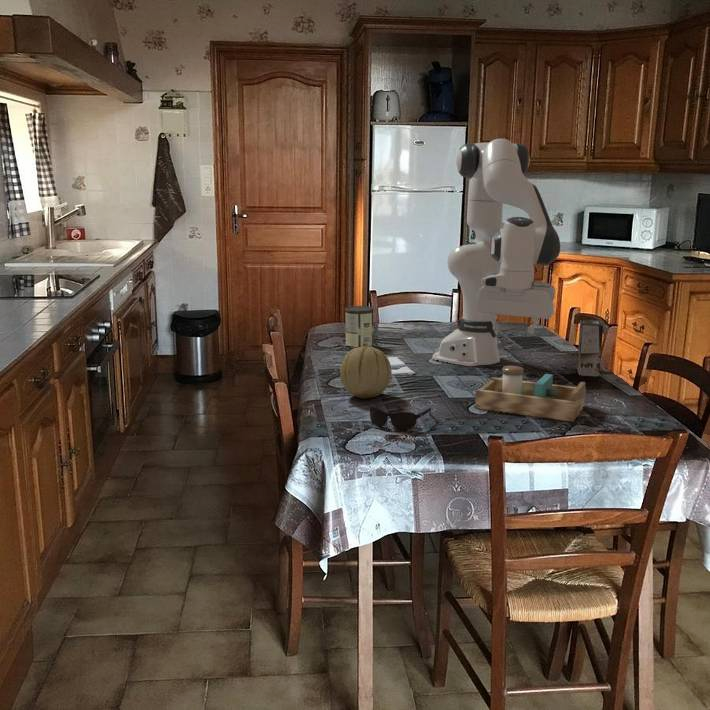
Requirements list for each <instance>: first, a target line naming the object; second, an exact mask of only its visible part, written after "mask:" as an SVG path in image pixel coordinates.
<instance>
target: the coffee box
mask: <svg viewBox="0 0 710 710" xmlns="http://www.w3.org/2000/svg"><path fill="white" fill-rule="evenodd" d="M603 333H604V325H603V322H602V321H601V320H599V319H598V320H594V319H589V320H582V319H581V320H579V333H578V349H577V364H576V366H577V367H576V369H577V373H578V375H579V376H580V375H581V376H582V377H585V376H586V377H597V376H598V377H600V373H601V361H602V348H603V347H602V346H603V335H604V334H603Z"/></svg>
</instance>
